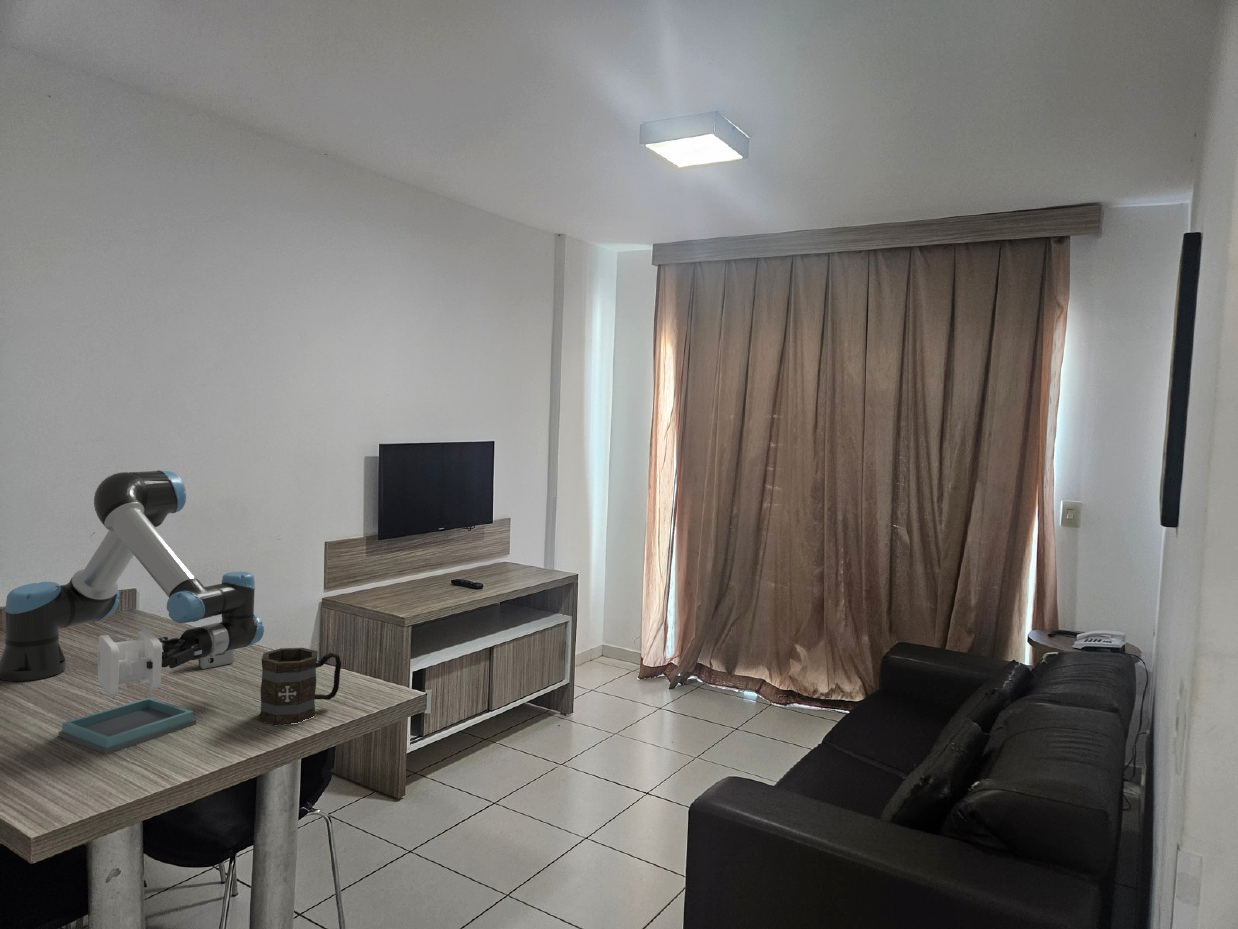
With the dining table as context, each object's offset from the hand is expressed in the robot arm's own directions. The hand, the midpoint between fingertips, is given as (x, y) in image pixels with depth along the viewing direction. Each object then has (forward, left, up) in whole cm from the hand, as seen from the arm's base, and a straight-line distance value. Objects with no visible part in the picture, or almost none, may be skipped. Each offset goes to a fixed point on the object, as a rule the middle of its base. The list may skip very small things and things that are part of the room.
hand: (114, 663), depth 180 cm
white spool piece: (0, +4, -7) cm, 8 cm away
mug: (+22, +33, -17) cm, 43 cm away
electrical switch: (-26, +45, -17) cm, 55 cm away
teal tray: (0, +4, -16) cm, 17 cm away
